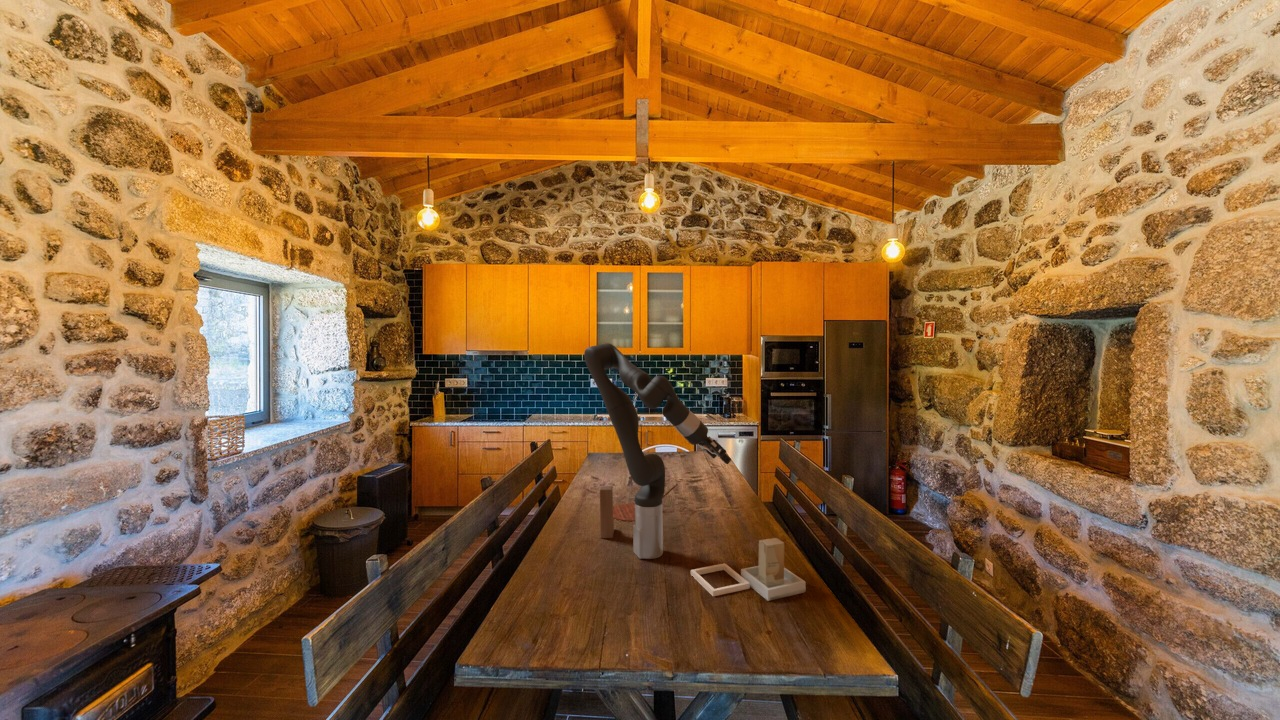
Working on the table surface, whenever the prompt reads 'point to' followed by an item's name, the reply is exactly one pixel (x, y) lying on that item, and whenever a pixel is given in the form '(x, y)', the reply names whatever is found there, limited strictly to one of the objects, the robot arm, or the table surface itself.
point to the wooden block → (606, 512)
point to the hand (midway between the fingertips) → (722, 459)
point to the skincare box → (771, 562)
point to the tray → (778, 591)
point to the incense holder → (627, 510)
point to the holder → (722, 590)
